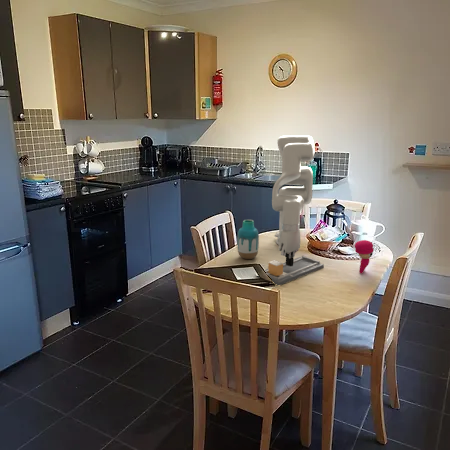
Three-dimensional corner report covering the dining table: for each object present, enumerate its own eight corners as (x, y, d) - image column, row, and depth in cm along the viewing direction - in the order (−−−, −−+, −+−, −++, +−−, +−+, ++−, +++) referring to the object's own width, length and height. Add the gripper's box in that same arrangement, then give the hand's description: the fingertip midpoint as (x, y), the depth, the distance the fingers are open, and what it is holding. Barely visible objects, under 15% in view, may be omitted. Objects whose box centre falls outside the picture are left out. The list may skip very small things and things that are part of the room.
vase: (235, 261, 211) (235, 223, 205) (239, 253, 221) (239, 217, 215) (257, 262, 209) (257, 224, 203) (259, 254, 219) (260, 218, 213)
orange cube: (274, 270, 193) (274, 259, 192) (282, 273, 190) (283, 263, 188) (268, 272, 191) (268, 262, 189) (276, 276, 187) (276, 265, 186)
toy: (372, 276, 191) (375, 244, 187) (353, 275, 193) (355, 243, 189) (370, 269, 199) (373, 238, 195) (351, 268, 201) (354, 237, 197)
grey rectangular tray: (300, 259, 212) (300, 254, 211) (323, 267, 202) (323, 262, 201) (255, 276, 192) (255, 270, 192) (278, 285, 182) (278, 279, 181)
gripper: (295, 221, 198) (294, 259, 203) (272, 228, 189) (272, 267, 194) (308, 225, 192) (306, 263, 198) (285, 232, 183) (284, 271, 188)
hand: (289, 265), depth 196 cm, fingers closed
